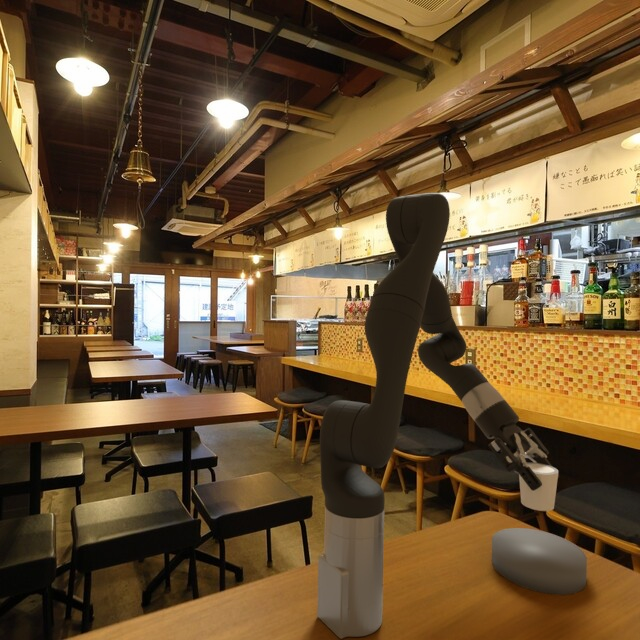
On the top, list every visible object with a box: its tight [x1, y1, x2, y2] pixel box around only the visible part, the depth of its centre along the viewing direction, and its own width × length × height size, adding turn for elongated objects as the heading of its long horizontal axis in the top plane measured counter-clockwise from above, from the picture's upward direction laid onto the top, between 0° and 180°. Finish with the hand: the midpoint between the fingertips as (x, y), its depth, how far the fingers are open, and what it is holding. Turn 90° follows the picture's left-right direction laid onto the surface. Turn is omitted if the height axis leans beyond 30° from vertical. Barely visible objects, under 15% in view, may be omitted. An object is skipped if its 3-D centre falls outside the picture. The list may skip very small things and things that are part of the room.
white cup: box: [518, 461, 559, 512], centre depth 85 cm, size 7×7×7 cm
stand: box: [491, 527, 588, 596], centre depth 85 cm, size 16×16×4 cm
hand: (546, 483), depth 84 cm, fingers closed on white cup, 7 cm apart
